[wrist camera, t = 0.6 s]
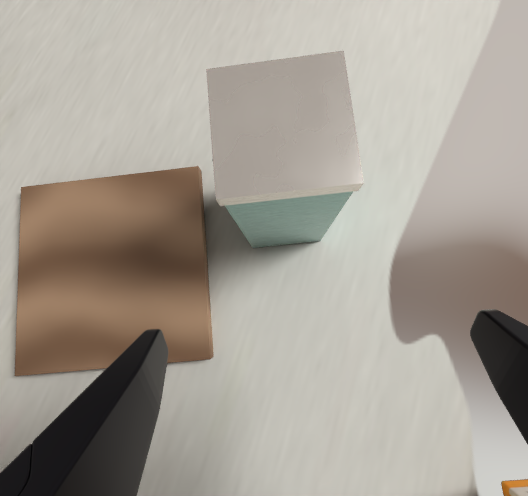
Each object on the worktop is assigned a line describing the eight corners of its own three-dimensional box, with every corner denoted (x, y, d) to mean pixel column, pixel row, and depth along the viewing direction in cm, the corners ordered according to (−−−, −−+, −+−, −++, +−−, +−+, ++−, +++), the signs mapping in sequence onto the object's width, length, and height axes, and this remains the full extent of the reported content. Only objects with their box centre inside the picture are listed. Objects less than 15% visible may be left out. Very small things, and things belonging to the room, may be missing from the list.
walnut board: (215, 354, 22) (210, 359, 21) (32, 370, 23) (14, 376, 21) (203, 174, 24) (197, 166, 23) (36, 193, 25) (21, 187, 24)
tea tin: (321, 242, 22) (364, 182, 10) (251, 249, 23) (215, 199, 11) (313, 175, 23) (343, 50, 11) (245, 183, 23) (206, 69, 12)
